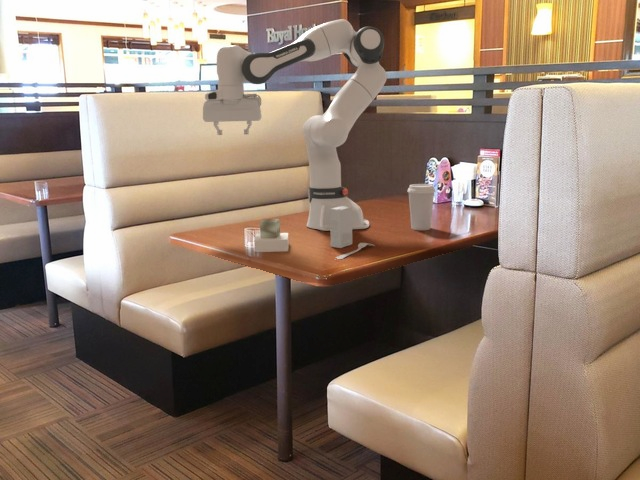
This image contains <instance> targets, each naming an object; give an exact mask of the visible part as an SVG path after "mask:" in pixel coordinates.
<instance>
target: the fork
mask: <svg viewBox="0 0 640 480" xmlns="http://www.w3.org/2000/svg"><path fill="white" fill-rule="evenodd" d="M367 245H368V246H371V247H376V245H374V244H372V243H369V242H368V243H367V242H359V243H358V245H357V249H356V250H353V251H350V252H347V253H343V254H340V255H338V256H336V257H335V258H337V259H342V260H344V259H345V258H347V257H349V256H350V255H352V254H355V253H357V252H358V251H360V250H362V248H365V247H366V246H367Z"/></svg>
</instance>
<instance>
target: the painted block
mask: <svg viewBox="0 0 640 480" xmlns="http://www.w3.org/2000/svg"><path fill="white" fill-rule="evenodd" d="M289 240H290V239H289V232H280V235H279V236H278V237H277V238H261V236H260V233H256V235H255V237H254V253H273V252H289V247H290V246H289V243H290V241H289Z"/></svg>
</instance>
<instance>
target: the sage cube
mask: <svg viewBox="0 0 640 480" xmlns="http://www.w3.org/2000/svg"><path fill="white" fill-rule="evenodd" d="M259 229H260V230H259V234H260V236H261V238H277V237H278V236H279V235H280V233H281V224H280V218H279V219H278V218H263V219H262V220H260V222H259Z"/></svg>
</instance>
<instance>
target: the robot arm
mask: <svg viewBox="0 0 640 480" xmlns="http://www.w3.org/2000/svg"><path fill="white" fill-rule="evenodd" d="M384 48H385V38H384V35H383V33H382V31H381V30H380V29H378V28H377V27H374V26H368V25H367V26H364V27H362V28H359V30H358V31H355V29H354V27H353V26H352V24H351V23H350V22H349V21H348V19H347V20H346V19H344V18H341V19H336V20H331V21H327V22H324V23H322V24H318V25H317V26H314V27H312V28H310V29H309V30H307V31H305V32H303V33H302V34H301V35H300V36H299V37H298V38H297V39H296V40H295V41H293V42H291V43H290V44H288V45H285V46H283V47H281V48H278V49H276V50H273V51H271V52H250V51H247V50H245V49H244V48H242V47H241V46H239V45H238V44H234V45H232V44H231V45H226V46H223V47H221V48H220V49H219V50H218V51H217V54H216V74H217V78H218V82H217V89H216V90H213V91H211V92H207V93H205V95H204V98H205V100H206V101H204V103H203V107H202V120H203V121H204V122H205V123H213V127H214V129H216V133H217V134H216V135H217V136H222V135H223V129H220V127H219V125H220V123H219V122H221V123H222V122H224V123H225V122H246V125H247V127H246V128H245V129H243V135H249V134H250V129H251V127H252V124H253V122H259V121H261V119H262V110H261V105H262V97H261V95H259V94H257V93H245V91H244V90H245V89H244V88H245V87H244V83H249V84H252V85H262V84H264V83H266V82H268V80H270V79H271V77H272V76H273V75H274V74H275V73H277V72H278V71H280V70H283V69H285V68H288V67H289V66H292V65H294V64H297V63H301V62H316V61H321V60H323V59H326V58H328V57H331V56H333V55H336V54H338V53H339V54H340V53H342V54H343V56H344V57H345V59H346V60H347V61H348V62H349V64H351V66H352V67H353V68H354V69H356V71H355V73H353V75H352V76H350V78H349V79H348V80H347V81H346V83H344V85H343V86H342V87H341V88H340V89H339V91H337V93H336V94H335V95H334V96H333V100H332V101H331V103H330V105H329V107H328V108H327V109H326V111H325V112H324V113H323V114H322V115H321V114H320V115H319V114H317V115H316V114H315V115H313V116H310V117H309V118H308V119H307V120H306V121H304V123H303V125H302V130H301V131H302V136H303V138H304V142H305V148H306V154H307V159H308V165H309V166H308V167H309V187H308V201H309V211H308V218H307V223H306V227H307V228H310V229H315V230H320V231H323V232H325V231H330V209H332V208H336V207H340V206H348V207H352V230H363V229H367V228H369V227H370V221H369V220H368V219H366V218H364V213H363V210H362V208H361V207H360V206H359V204H357V203H356V202H354V201H353V200H352V199H351V198H349V197H348V194H349V190H348V189H347V188H346V187H344V186H342V174H341V173H342V170H341V169H342V166H341V165H342V164H341V161H340V159H339V156H338V152H337V148H338V147H340V146H342V145H344V143H346V141H347V139H348V135H349V133H350V131H351V129H352V128H353V127H354V124H355V123H356V121H357V120H358V118H359V117H360V116H361V114H363V112H365V111H366V109H367V108H368V107H369V105H370V104H371V103H373V102H372V101H374V99H376V98H377V96H378V95H379V93H380V92H381V90H382V89H383V88H384V85H385V84H386V82H387V79H388V77H387V76H388V75H387V72H386V69H384V67H383V66H381V64H380V61H381V60H382V58H383V53H384Z"/></svg>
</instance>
